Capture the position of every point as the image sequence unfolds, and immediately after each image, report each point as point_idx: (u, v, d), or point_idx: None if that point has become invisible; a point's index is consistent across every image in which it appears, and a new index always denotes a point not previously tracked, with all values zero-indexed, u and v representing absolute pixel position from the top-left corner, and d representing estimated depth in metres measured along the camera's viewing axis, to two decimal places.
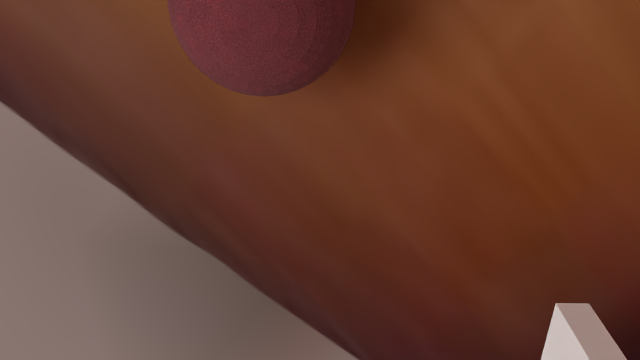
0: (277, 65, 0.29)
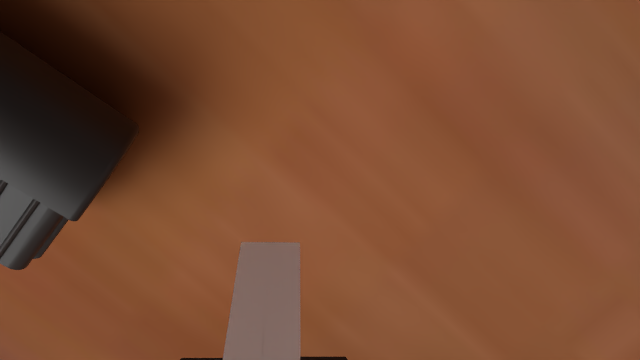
0: None
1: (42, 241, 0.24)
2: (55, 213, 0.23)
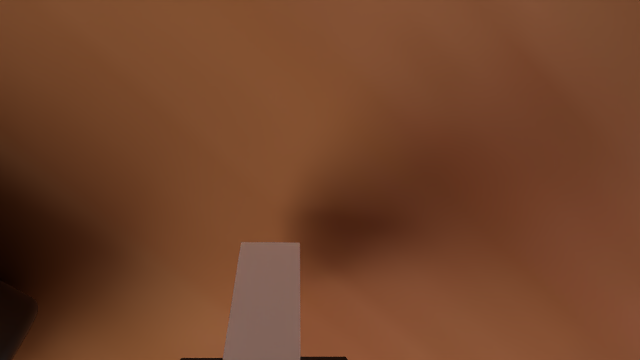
0: None
1: None
2: None
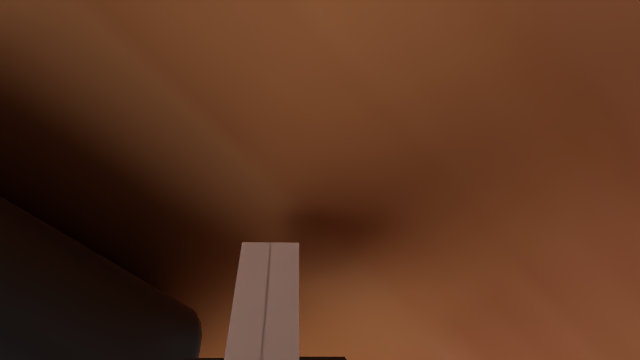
0: None
1: None
2: None
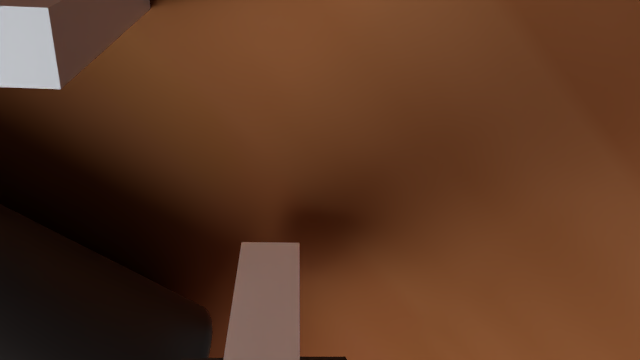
0: None
1: None
2: None
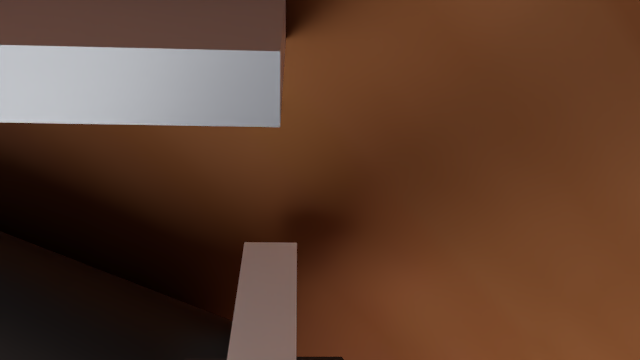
0: None
1: None
2: None
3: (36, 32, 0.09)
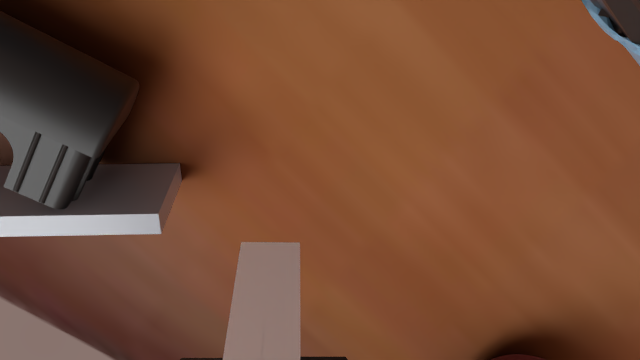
0: None
1: (75, 182, 0.30)
2: (81, 156, 0.29)
3: None
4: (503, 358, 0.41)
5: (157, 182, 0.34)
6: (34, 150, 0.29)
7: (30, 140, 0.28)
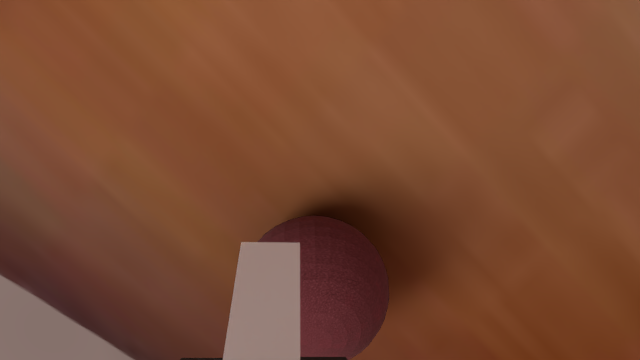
0: None
1: None
2: None
3: None
4: None
5: None
6: None
7: None
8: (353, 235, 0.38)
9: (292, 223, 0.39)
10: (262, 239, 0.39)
